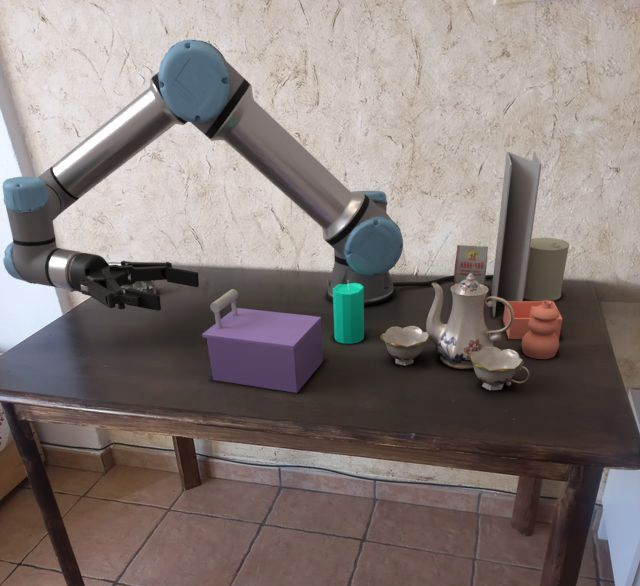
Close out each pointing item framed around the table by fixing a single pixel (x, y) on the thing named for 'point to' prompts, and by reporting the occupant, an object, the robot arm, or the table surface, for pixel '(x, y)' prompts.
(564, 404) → the table surface
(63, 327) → the table surface
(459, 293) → the chinaware
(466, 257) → the small printed carton
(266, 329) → the lid
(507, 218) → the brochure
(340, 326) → the candle
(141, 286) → the egg carton
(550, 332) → the pottery
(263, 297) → the table surface
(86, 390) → the table surface
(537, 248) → the can
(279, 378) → the box
